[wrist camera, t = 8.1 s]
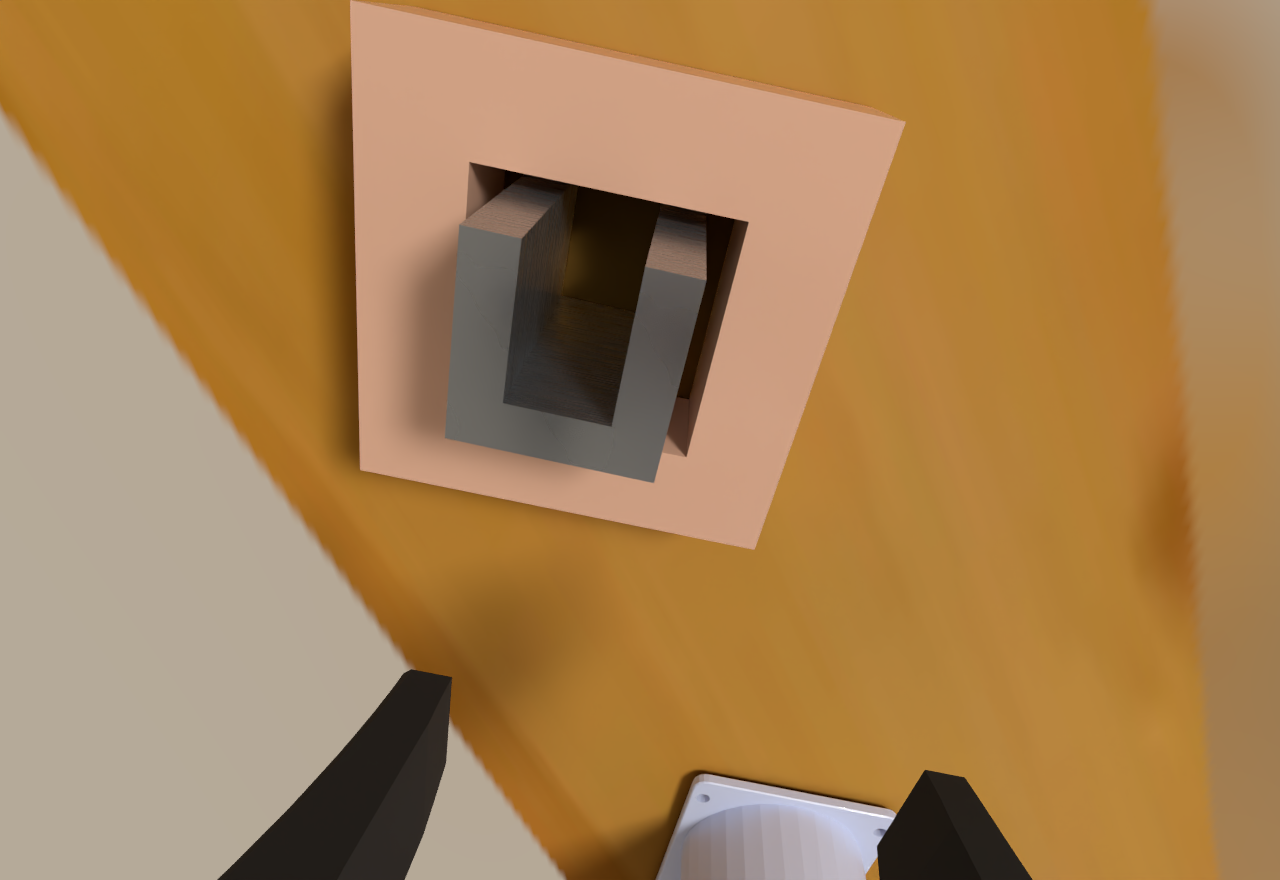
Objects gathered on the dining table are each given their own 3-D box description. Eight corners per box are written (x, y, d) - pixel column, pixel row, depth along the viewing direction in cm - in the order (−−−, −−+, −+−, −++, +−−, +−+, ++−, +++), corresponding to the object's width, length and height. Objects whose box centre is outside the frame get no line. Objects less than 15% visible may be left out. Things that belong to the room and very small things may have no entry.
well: (748, 483, 20) (754, 550, 17) (405, 412, 20) (360, 469, 17) (871, 106, 15) (906, 121, 12) (412, 6, 15) (350, 0, 12)
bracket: (668, 356, 18) (653, 483, 13) (518, 323, 18) (445, 438, 13) (706, 202, 16) (705, 280, 11) (538, 164, 16) (459, 224, 11)
